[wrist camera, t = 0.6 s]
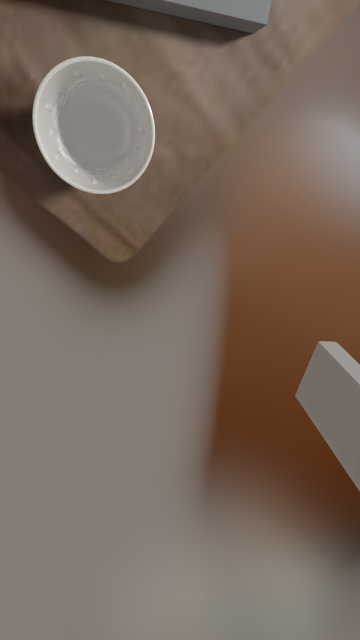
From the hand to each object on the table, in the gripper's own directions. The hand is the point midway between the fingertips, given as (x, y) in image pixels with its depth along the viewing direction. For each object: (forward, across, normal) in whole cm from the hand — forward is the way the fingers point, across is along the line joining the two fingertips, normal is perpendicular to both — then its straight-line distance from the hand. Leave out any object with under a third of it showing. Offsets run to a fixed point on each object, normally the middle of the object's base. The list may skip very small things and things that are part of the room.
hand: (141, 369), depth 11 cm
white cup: (+27, -2, +6) cm, 28 cm away
